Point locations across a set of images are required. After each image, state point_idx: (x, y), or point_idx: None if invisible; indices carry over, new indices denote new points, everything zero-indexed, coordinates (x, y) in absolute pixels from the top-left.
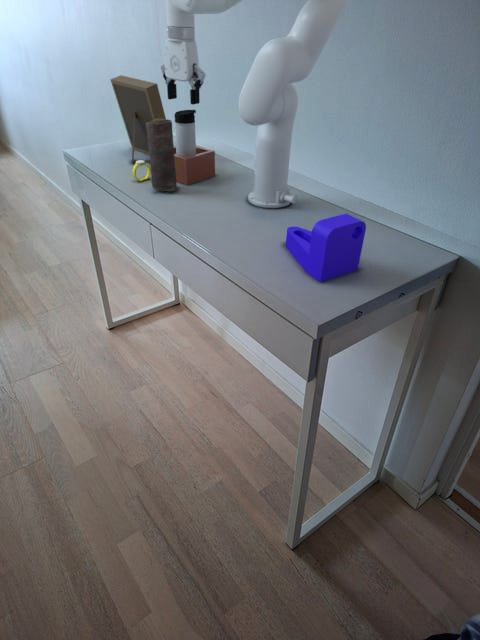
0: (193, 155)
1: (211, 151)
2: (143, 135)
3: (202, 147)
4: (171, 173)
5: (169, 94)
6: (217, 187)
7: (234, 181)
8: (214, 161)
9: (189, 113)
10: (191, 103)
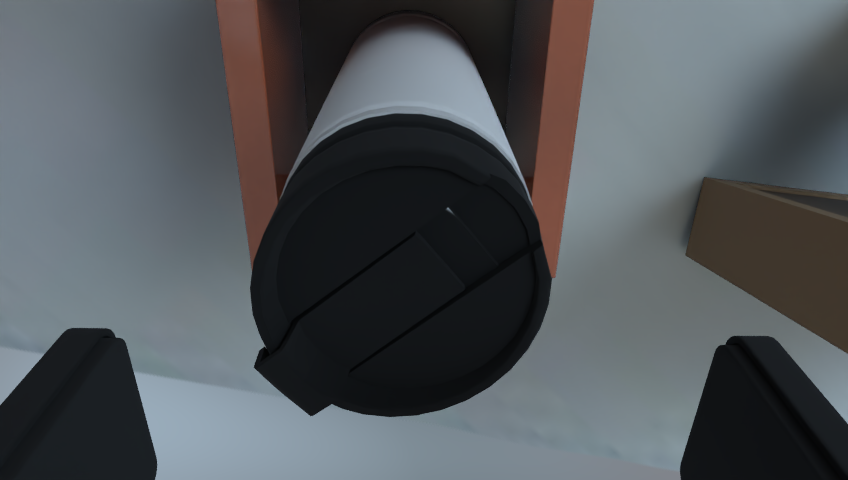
0: (256, 67)
1: (253, 246)
2: None
3: None
4: None
5: (765, 399)
6: (102, 47)
7: (134, 200)
8: None
9: (254, 267)
10: (80, 331)
